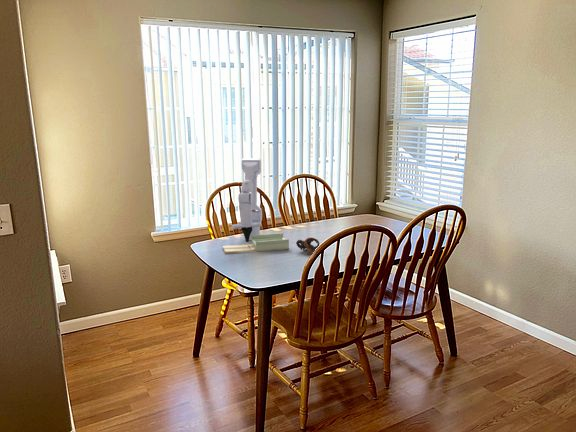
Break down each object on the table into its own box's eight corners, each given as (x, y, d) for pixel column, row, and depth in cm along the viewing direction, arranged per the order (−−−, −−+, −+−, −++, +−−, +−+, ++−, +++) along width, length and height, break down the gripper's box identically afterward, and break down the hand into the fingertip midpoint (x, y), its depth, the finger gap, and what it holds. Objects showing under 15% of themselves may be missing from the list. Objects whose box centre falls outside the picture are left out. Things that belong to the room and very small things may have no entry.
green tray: (251, 244, 259) (251, 235, 258) (283, 242, 263) (282, 232, 262) (256, 251, 247) (255, 242, 246) (288, 249, 251) (288, 239, 250)
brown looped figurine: (318, 249, 251) (322, 238, 246) (315, 262, 244) (319, 251, 239) (296, 243, 252) (299, 232, 246) (292, 256, 245) (295, 244, 239)
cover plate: (222, 249, 255) (222, 245, 254) (252, 246, 258) (251, 243, 258) (225, 255, 244) (225, 251, 244) (255, 252, 248) (255, 249, 247)
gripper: (232, 218, 243) (234, 244, 246) (261, 216, 246) (262, 242, 249) (231, 215, 249) (232, 240, 252) (259, 213, 253) (259, 238, 256)
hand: (247, 241), depth 251 cm, fingers closed
